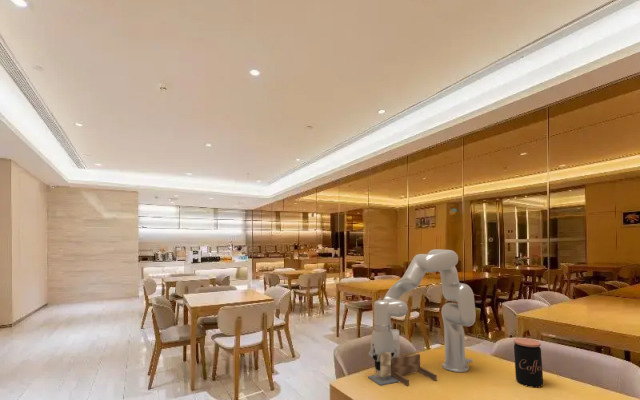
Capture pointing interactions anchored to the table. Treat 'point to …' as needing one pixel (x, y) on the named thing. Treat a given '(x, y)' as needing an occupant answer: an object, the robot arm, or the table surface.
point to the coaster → (383, 379)
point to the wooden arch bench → (408, 368)
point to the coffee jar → (528, 362)
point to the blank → (384, 364)
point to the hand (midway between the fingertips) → (383, 368)
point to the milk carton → (396, 342)
